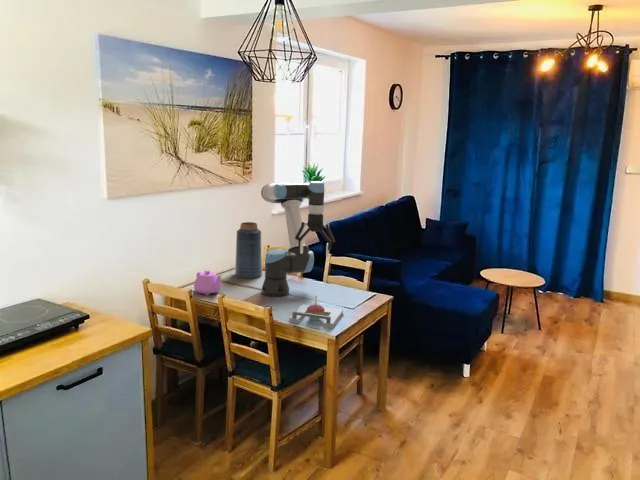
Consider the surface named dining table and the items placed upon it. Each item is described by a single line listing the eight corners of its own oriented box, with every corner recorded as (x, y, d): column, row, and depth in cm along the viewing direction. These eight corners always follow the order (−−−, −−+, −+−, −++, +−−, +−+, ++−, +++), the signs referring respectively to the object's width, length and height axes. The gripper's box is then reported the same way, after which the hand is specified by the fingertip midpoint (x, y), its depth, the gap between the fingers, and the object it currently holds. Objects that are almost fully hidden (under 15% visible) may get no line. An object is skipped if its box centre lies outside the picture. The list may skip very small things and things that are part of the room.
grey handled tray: (289, 321, 245) (289, 311, 244) (302, 308, 264) (302, 298, 263) (332, 328, 240) (332, 317, 238) (342, 313, 258) (343, 303, 257)
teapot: (231, 293, 282) (231, 271, 279) (211, 300, 271) (211, 277, 268) (206, 285, 294) (206, 264, 291) (186, 291, 282) (185, 270, 280)
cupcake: (306, 315, 253) (306, 292, 251) (323, 316, 254) (324, 292, 251) (306, 322, 245) (307, 298, 242) (324, 322, 246) (325, 298, 243)
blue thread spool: (233, 271, 323) (233, 221, 316) (260, 270, 327) (260, 221, 320) (236, 279, 307) (236, 226, 301) (263, 278, 311) (264, 226, 304)
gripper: (289, 212, 258) (288, 253, 263) (338, 216, 251) (336, 259, 256) (294, 209, 265) (293, 250, 270) (342, 213, 258) (340, 255, 263)
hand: (314, 254), depth 263 cm, fingers open, 13 cm apart
